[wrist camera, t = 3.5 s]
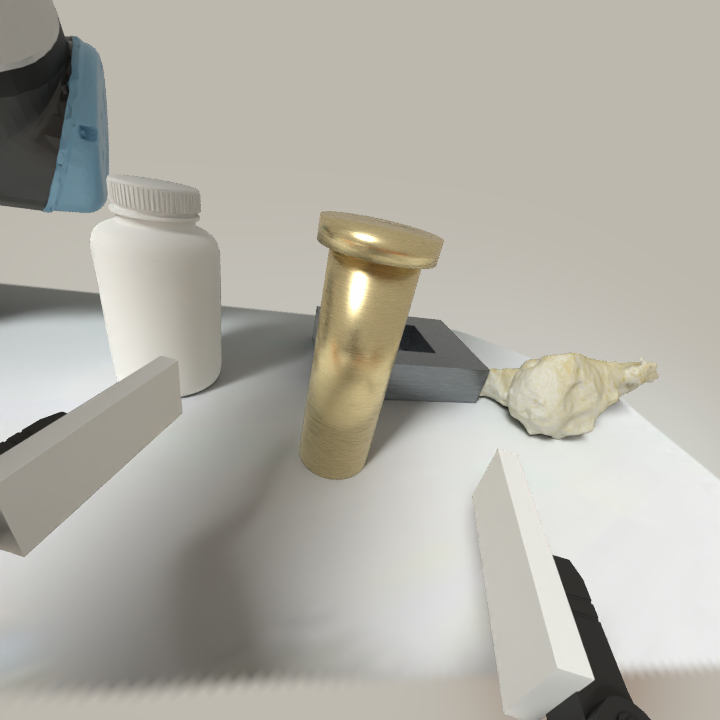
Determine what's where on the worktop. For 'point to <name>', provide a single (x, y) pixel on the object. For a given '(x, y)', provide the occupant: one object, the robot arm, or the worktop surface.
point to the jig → (432, 365)
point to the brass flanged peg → (358, 334)
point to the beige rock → (564, 391)
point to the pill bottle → (159, 280)
